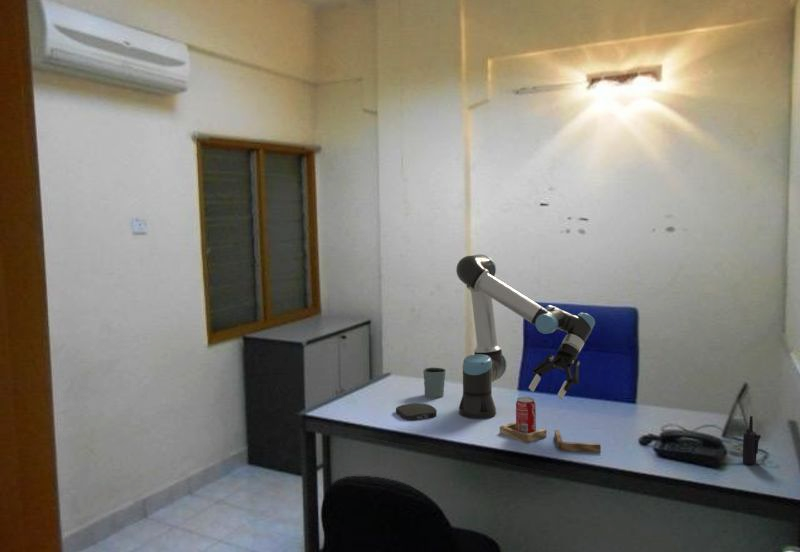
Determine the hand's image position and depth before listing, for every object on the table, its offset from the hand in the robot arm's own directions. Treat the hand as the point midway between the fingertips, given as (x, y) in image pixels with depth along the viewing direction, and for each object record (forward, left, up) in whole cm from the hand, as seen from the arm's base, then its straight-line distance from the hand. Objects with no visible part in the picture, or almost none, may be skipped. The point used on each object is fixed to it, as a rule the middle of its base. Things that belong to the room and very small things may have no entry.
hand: (544, 393), depth 226 cm
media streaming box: (-52, -5, -14) cm, 54 cm away
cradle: (+12, -14, -14) cm, 23 cm away
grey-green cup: (-57, +23, -14) cm, 63 cm away
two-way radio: (+67, -2, -14) cm, 69 cm away
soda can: (-5, -8, -14) cm, 17 cm away
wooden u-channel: (-5, -9, -14) cm, 18 cm away
